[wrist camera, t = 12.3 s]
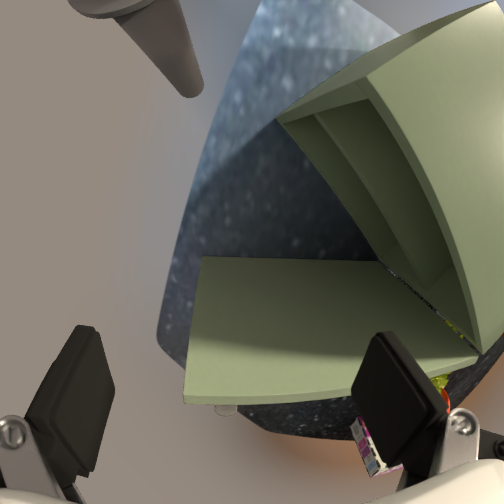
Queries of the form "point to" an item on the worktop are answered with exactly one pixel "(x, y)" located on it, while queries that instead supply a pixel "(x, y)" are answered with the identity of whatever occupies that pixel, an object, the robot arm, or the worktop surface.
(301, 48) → the worktop surface
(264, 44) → the worktop surface
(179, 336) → the worktop surface
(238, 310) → the door
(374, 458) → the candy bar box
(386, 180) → the cabinet
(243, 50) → the worktop surface
